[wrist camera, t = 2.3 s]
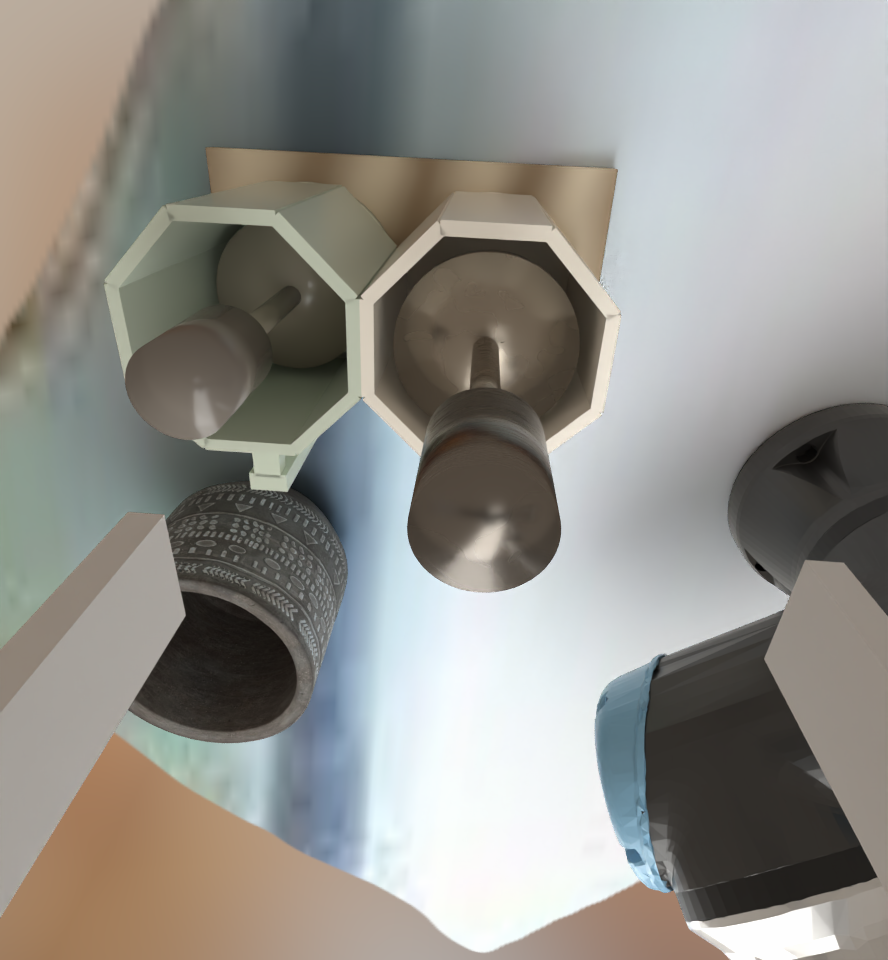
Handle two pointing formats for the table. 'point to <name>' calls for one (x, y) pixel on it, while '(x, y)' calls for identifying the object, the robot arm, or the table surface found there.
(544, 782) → the table surface
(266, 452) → the sage press
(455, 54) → the table surface
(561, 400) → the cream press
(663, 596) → the table surface
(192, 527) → the planter
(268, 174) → the board
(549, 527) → the press plunger
